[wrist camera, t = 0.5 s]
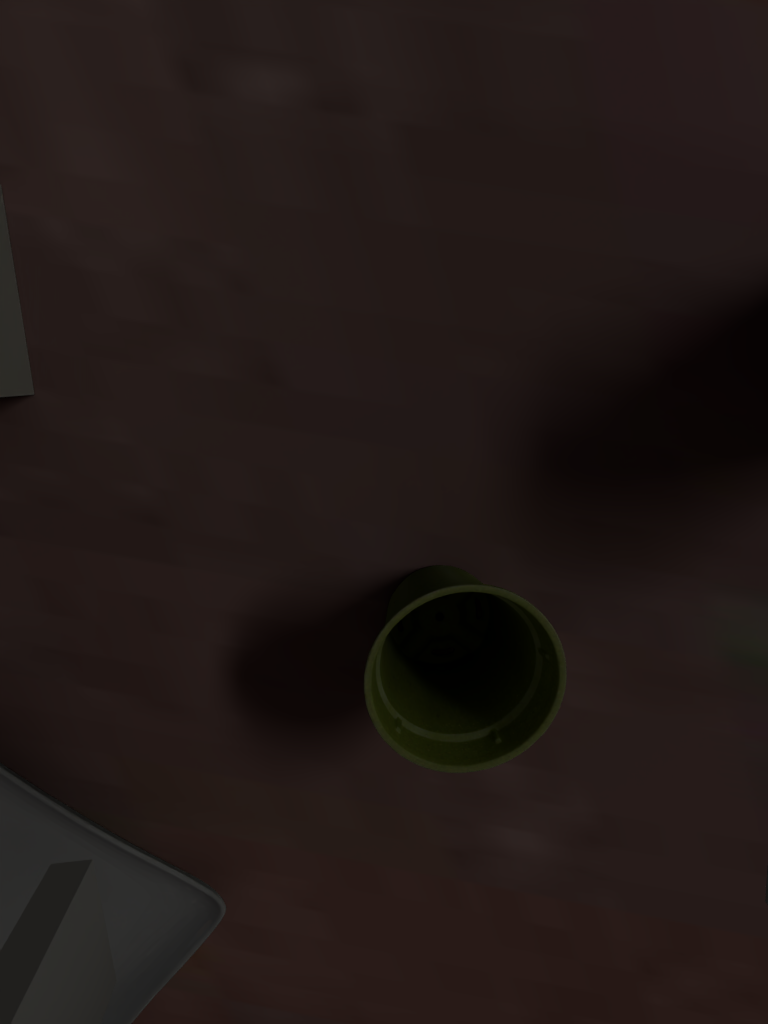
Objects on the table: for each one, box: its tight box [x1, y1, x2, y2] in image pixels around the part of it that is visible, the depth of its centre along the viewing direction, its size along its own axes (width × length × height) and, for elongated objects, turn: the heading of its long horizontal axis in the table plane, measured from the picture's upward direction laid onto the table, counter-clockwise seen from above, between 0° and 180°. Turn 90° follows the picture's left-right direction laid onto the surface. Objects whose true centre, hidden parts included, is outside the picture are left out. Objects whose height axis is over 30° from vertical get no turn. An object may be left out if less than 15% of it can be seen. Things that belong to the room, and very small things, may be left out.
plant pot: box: [364, 565, 567, 773], centre depth 35 cm, size 9×9×9 cm
